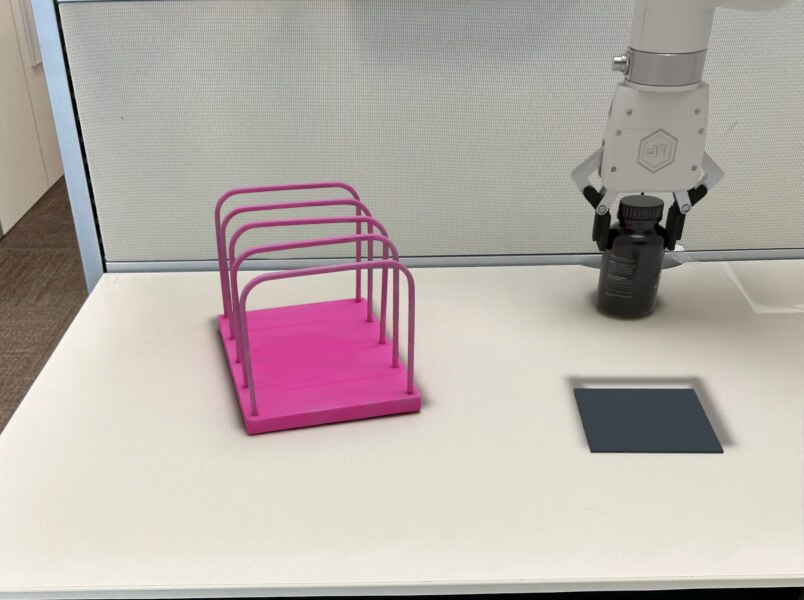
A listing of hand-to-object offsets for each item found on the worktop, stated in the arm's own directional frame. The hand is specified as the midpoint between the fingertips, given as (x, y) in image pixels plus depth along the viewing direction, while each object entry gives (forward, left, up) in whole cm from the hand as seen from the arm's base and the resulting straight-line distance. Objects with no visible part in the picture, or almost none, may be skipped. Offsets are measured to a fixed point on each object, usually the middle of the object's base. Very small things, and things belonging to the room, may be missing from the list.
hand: (634, 245), depth 104 cm
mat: (+3, +26, -7) cm, 27 cm away
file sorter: (+36, +15, -8) cm, 39 cm away
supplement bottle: (0, 0, -7) cm, 7 cm away
